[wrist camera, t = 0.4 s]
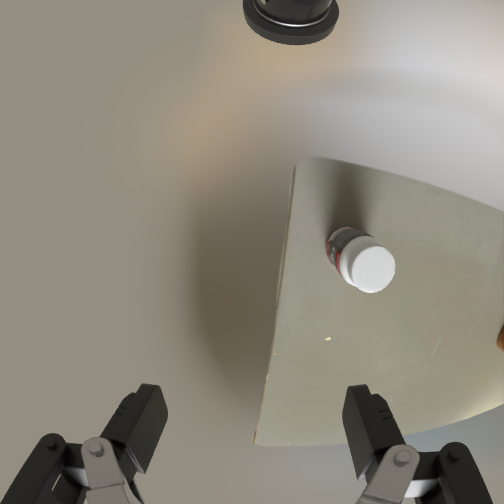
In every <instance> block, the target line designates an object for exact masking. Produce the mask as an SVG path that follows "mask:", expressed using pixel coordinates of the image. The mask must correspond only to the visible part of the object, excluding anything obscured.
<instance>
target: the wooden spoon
mask: <svg viewBox="0 0 504 504" xmlns="http://www.w3.org/2000/svg"><path fill="white" fill-rule="evenodd" d="M497 346H498V347H499V348H500V349H501V350H502V351H503V352H504V328H503V329H502V330H501V332H500V334H499V336H498V340H497Z"/></svg>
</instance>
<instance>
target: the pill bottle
mask: <svg viewBox="0 0 504 504" xmlns="http://www.w3.org/2000/svg"><path fill="white" fill-rule="evenodd" d="M326 252H327V256H328V259H329V261H330V262H331V264H332V265H333V266H334V267H335V268H336V270H337V271H338V272H339V273H340V274H341V276H342V277H343V278H344V279H345V280H346V281H347V282H348V283H349V284H351V285H353V286H356V287H358V288H359V289H360V290H362V291H365V292H370V293H373V292H377V291H380V290H382V289H383V288H385V287H386V286H387V285H388V284H389V283H390V281H391V280H392V278H393V275H394V272H395V261H394V258H393V255H392V254H391V252H390V251H389V250H388V249H386V248H385V247H384V245H383V244H382V243H381V242H380V241H379V240H378V239H376V238H374V237H372V236H370V235H368V234H366V233H364V232H362V231H360V230H358V229H356V228H353V227H343V228H340V229H338V230H336V231H335V232H334V233H333V234H332V235H331V236H330V238H329V240H328V242H327V247H326Z"/></svg>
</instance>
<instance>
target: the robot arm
mask: <svg viewBox="0 0 504 504" xmlns="http://www.w3.org/2000/svg"><path fill="white" fill-rule="evenodd" d="M331 2H332V0H253V6H254V9H255V11H256V12H257V13H258V15H259V16H260V17H262V18H263V19H264V20H266V21H268V22H270V23H272V24H274V25H277V26H280V27H285V28H292V29H302V28H309V27H313V26H316V25H318V24H320V23H321V22H323V21H324V20H325V19H326V18H327V16H328V14H329V11H330V5H331ZM167 418H168V410H167V406H166V403H165V400H164V397H163V394H162V391H161V388H160V386H158V385H151V384H141V386H140V387H139V389H138V391H137V392H136V393H133V392H132V393H131V394H129V395H128V396H126V397H125V398H124V399H123V400H122V402H121V404H120V405H119V408H117V410H116V412H115V414H114V415H113V416H112V418H111V419H110V421H109V422H108V424H107V426H106V427H105V429H104V431H103V432H102V434H101V435H100V437H94V438H91V439H89V440H87V441H85V442H84V444H75V443H66V441H65V440H64V439H63V437H62V436H60V435H59V434H55V433H51V434H47V435H45V436H43V437H42V438H41V439H40V441H39V442H38V444H37V445H36V447H35V448H34V450H33V451H32V453H31V454H30V456H29V457H28V459H27V461H26V462H25V463H24V465H23V467H22V468H21V470H20V471H19V473H18V474H17V476H16V478H15V479H14V481H13V483H12V484H11V486H10V488H9V489H8V491H7V493H6V494H5V496H4V498H3V500H2V501H1V503H0V504H83V503H84V501H85V498H87V501H88V504H146V502H145V500H144V498H143V496H142V494H141V492H140V489H139V487H138V485H137V483H136V480H135V479H134V475H135V473H136V472H139V473H143V474H145V473H146V471H147V468H148V466H149V463H150V461H151V458H152V456H153V454H154V451H155V448H156V446H157V444H158V441H159V439H160V436H161V434H162V432H163V429H164V427H165V424H166V422H167ZM342 419H343V425H344V428H345V432H346V436H347V440H348V444H349V448H350V452H351V456H352V459H353V463H354V468H355V472H356V476H357V480H362V479H366V481H367V486H366V488H365V489H364V491H363V493H362V494H361V496H360V497H359V499H358V500H357V502H356V503H355V504H401V502H402V500H403V498H412V497H414V499H415V502H416V504H493V502H492V500H491V497H490V495H489V492H488V490H487V487H486V485H485V483H484V481H483V478H482V476H481V474H480V472H479V469H478V467H477V465H476V463H475V461H474V459H473V457H472V455H471V453H470V451H469V449H468V448H467V446H466V445H464V444H462V443H460V442H451V443H448V444H446V445H445V446H444V447H443V448H442V449H441V450H440V451H438V452H418V451H417V450H416V449H415V448H413V447H412V446H409V445H406V443H405V441H404V439H403V437H402V435H401V432H400V430H399V428H398V426H397V423H396V421H395V419H394V418H393V415H392V413H391V411H390V408H389V406H388V404H387V402H386V400H385V399H383V398H382V397H381V396H380V395H379V394H373V395H371V393H370V391H369V389H368V387H367V385H366V384H363V385H356V386H349V387H348V389H347V393H346V398H345V402H344V407H343V412H342ZM60 474H61V476H60V478H59V480H58V481H57V483H56V485H55V487H54V489H53V491H52V488H53V486H54V484H55V482H56V480H57V478H58V476H59V475H60Z"/></svg>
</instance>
